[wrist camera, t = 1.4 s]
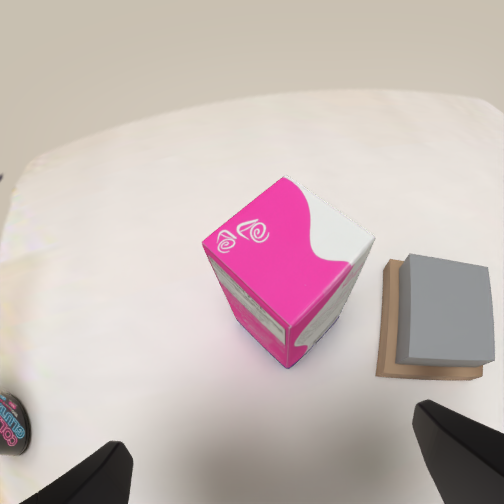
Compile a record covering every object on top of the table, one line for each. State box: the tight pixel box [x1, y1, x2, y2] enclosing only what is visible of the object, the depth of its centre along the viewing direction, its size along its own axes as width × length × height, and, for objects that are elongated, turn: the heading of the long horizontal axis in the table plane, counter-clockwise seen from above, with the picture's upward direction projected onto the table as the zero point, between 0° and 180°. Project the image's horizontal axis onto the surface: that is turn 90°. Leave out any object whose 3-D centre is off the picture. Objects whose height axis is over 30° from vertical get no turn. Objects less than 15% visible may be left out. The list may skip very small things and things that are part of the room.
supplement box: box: [202, 175, 375, 369], centre depth 18 cm, size 6×6×12 cm
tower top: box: [395, 254, 495, 367], centre depth 18 cm, size 8×8×2 cm
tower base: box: [376, 259, 483, 380], centre depth 21 cm, size 9×9×2 cm
